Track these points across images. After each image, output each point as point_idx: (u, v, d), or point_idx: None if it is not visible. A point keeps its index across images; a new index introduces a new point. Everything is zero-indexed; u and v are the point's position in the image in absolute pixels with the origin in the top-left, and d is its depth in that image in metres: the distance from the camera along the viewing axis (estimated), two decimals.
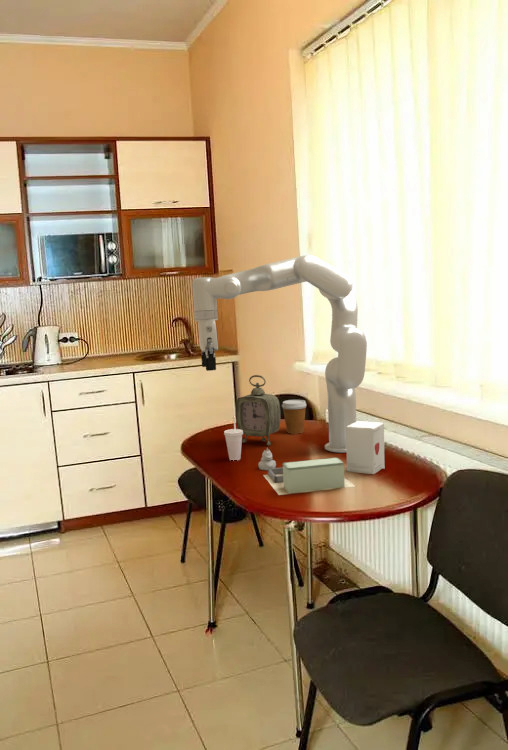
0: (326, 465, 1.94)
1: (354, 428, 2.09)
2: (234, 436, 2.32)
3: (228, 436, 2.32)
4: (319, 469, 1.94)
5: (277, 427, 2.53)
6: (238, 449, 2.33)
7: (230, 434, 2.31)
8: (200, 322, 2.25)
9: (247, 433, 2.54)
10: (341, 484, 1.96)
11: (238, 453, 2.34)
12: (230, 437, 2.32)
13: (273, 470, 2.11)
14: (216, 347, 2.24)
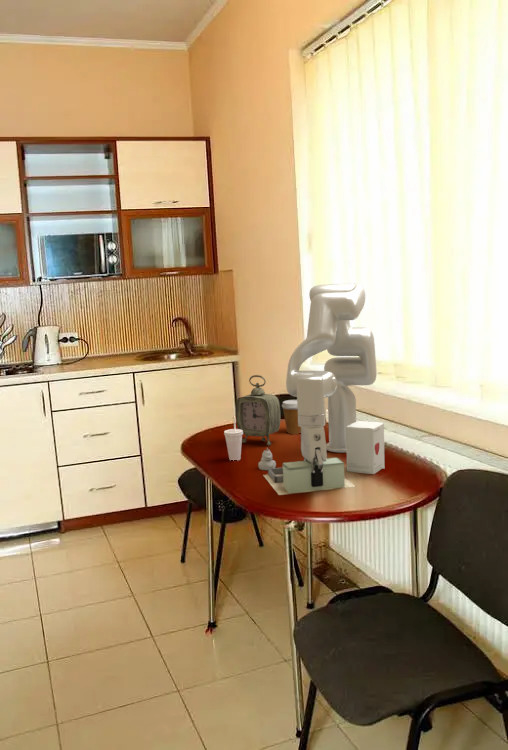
0: (326, 465, 1.94)
1: (354, 428, 2.09)
2: (234, 436, 2.32)
3: (228, 436, 2.32)
4: None
5: (277, 427, 2.53)
6: (238, 449, 2.33)
7: (230, 434, 2.31)
8: (306, 429, 1.92)
9: (247, 433, 2.54)
10: (341, 484, 1.96)
11: (238, 453, 2.34)
12: (230, 437, 2.32)
13: (273, 470, 2.11)
14: (325, 458, 1.92)
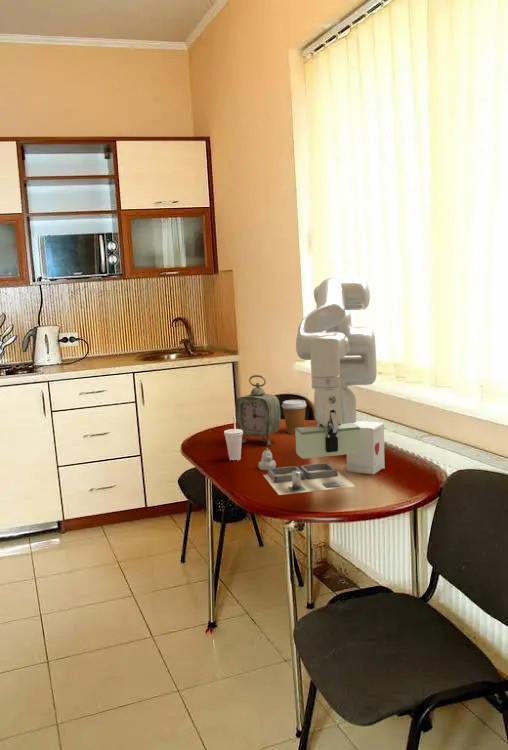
0: (341, 430, 1.85)
1: None
2: (234, 436, 2.32)
3: (228, 436, 2.32)
4: None
5: (277, 427, 2.53)
6: (238, 449, 2.33)
7: (230, 434, 2.31)
8: (320, 391, 1.83)
9: (247, 433, 2.54)
10: (357, 450, 1.87)
11: (238, 453, 2.34)
12: (230, 437, 2.32)
13: (273, 470, 2.11)
14: (340, 421, 1.83)
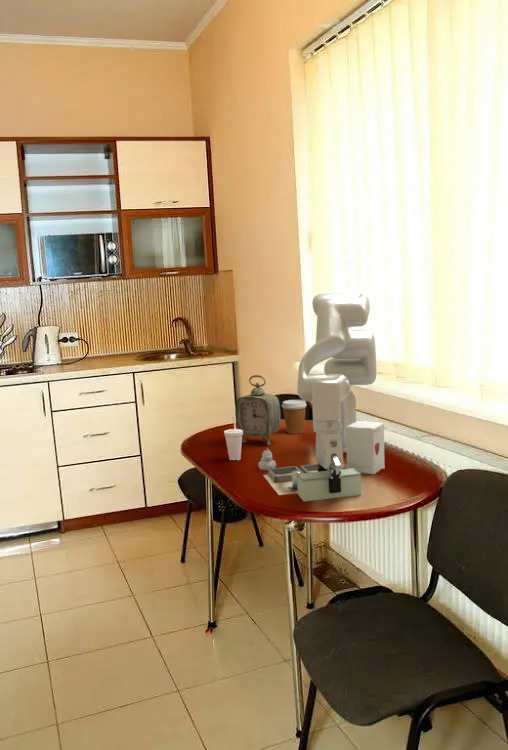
0: (342, 476, 1.87)
1: (354, 428, 2.09)
2: (234, 436, 2.32)
3: (228, 436, 2.32)
4: None
5: (277, 427, 2.53)
6: (238, 449, 2.33)
7: (230, 434, 2.31)
8: (322, 434, 1.85)
9: (247, 433, 2.54)
10: None
11: (238, 453, 2.34)
12: (230, 437, 2.32)
13: (273, 470, 2.11)
14: (341, 465, 1.85)
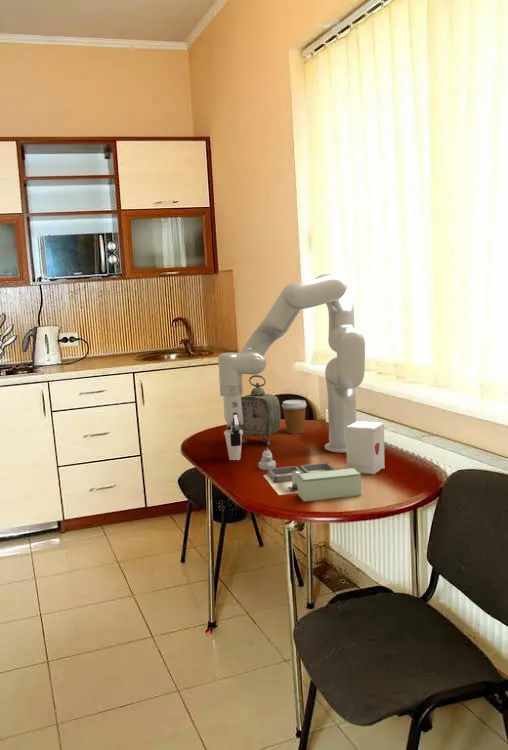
0: (342, 476, 1.87)
1: (354, 428, 2.09)
2: None
3: (228, 436, 2.32)
4: (335, 481, 1.87)
5: (277, 427, 2.53)
6: (238, 449, 2.33)
7: None
8: (226, 397, 2.30)
9: (247, 433, 2.54)
10: None
11: (238, 453, 2.34)
12: (230, 437, 2.32)
13: (273, 470, 2.11)
14: (241, 422, 2.29)
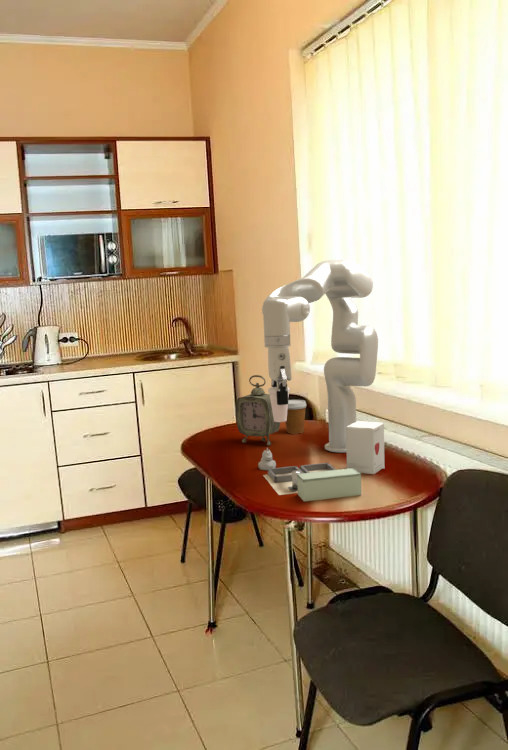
0: (342, 476, 1.87)
1: (354, 428, 2.09)
2: None
3: (273, 394, 2.04)
4: (335, 481, 1.87)
5: (277, 427, 2.53)
6: (284, 409, 2.05)
7: (275, 391, 2.03)
8: (272, 349, 2.01)
9: (247, 433, 2.54)
10: None
11: (284, 413, 2.05)
12: (275, 395, 2.04)
13: (273, 470, 2.11)
14: (289, 377, 2.01)
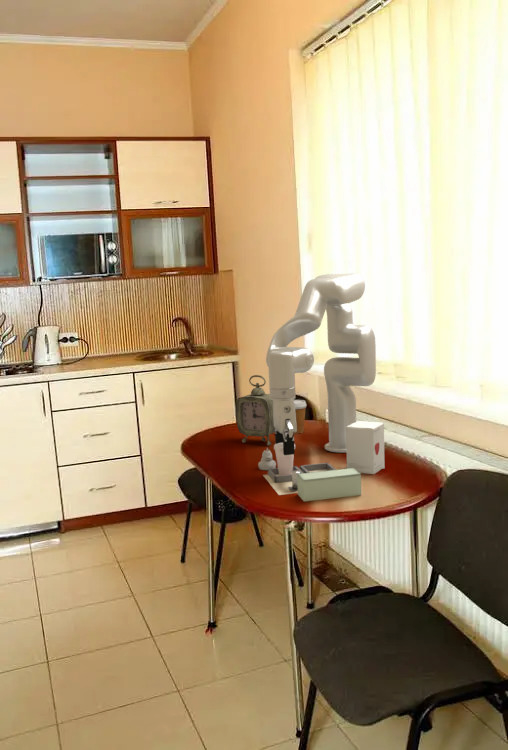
0: (342, 476, 1.87)
1: (354, 428, 2.09)
2: None
3: (279, 451, 2.05)
4: (335, 481, 1.87)
5: None
6: (290, 465, 2.06)
7: (281, 449, 2.05)
8: (277, 401, 2.02)
9: (247, 433, 2.54)
10: None
11: (290, 470, 2.07)
12: (281, 452, 2.05)
13: (273, 470, 2.11)
14: (295, 429, 2.02)
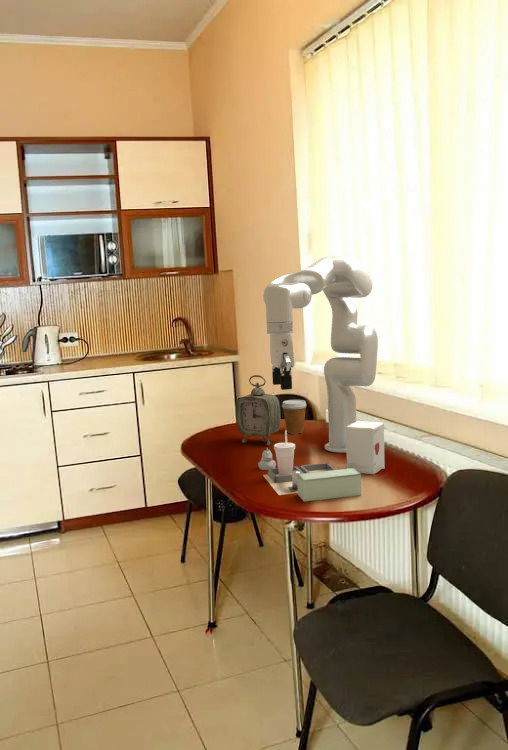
0: (342, 476, 1.87)
1: (354, 428, 2.09)
2: (286, 451, 2.05)
3: (279, 451, 2.05)
4: (335, 481, 1.87)
5: (277, 427, 2.53)
6: (290, 465, 2.06)
7: (281, 449, 2.05)
8: (274, 335, 1.99)
9: (247, 433, 2.54)
10: None
11: (290, 470, 2.07)
12: (281, 452, 2.05)
13: (273, 470, 2.11)
14: (292, 363, 1.99)
